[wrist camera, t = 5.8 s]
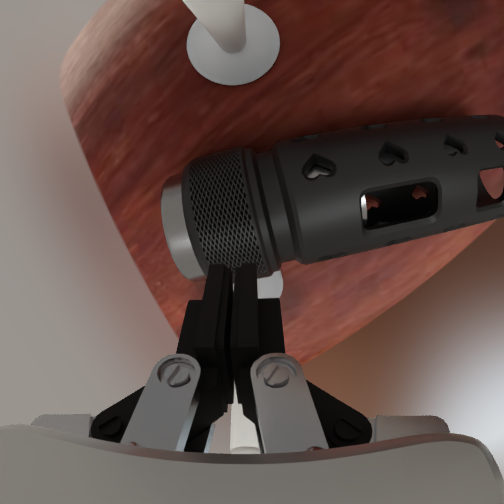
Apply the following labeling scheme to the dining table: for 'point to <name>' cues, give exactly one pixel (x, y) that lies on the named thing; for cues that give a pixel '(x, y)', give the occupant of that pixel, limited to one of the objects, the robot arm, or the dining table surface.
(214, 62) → the post
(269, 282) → the cord post
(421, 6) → the dining table surface
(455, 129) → the muzzle brake
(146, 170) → the dining table surface
